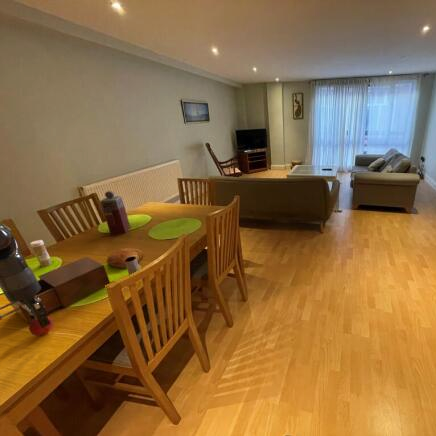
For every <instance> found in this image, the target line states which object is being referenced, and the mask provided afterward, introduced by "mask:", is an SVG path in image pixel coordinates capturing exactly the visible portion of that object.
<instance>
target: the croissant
mask: <svg viewBox="0 0 436 436" xmlns="http://www.w3.org/2000/svg"><path fill="white" fill-rule="evenodd" d="M129 257H136V259H137V262H138V263H139V262H140V260H141V259H142V257H143V252H142V251H141V250H140V249H138V248H135V247H134V248H133V247H130V248H129V247H126V248H119V249H117V250H115V251H113V252H112V253H110V254H109V256H107V259H106V263H107V265H109V266H112V267H116V268H119V269H127V267H126V264H125V259H126V258H129Z"/></svg>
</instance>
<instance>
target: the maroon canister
mask: <svg viewBox="0 0 436 436" xmlns="http://www.w3.org/2000/svg"><path fill="white" fill-rule="evenodd" d="M104 196H105V197H104V198H103V199H101V200H100V201H99V204H100V206H101V209H102V213H103V215H104V219H105V222H106V225H107V227H108V231H109V234H110V235H119V234H120V235H122V234H127V233H128V232H129V231H130V229H131V224H130V221H129V217H128V214H127V210H126V207H125V203H124V201H123V196H121V195H115V192H114V191H112V190H108V191H105V193H104Z"/></svg>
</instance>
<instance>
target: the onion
mask: <svg viewBox="0 0 436 436" xmlns="http://www.w3.org/2000/svg"><path fill="white" fill-rule="evenodd" d="M47 318H48V319H49V321H50V324H49V325H48V326H46V327H44V328H42V327H41V326H40V324H39V323H38V321H37V320H36V319H35V318H33V319H32V320H33V321H32V322H31V323H30V324H29V327H28V330H29V332H30V334H32V335H34V336H42V335H46V334H48V333H50V331H51V330H52V329H53V327H54V325H55V322H54V321H55V320H54V319H52V317H50V316H47Z"/></svg>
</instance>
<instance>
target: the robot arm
mask: <svg viewBox="0 0 436 436" xmlns="http://www.w3.org/2000/svg"><path fill="white" fill-rule="evenodd" d="M0 289H1V291H2V293H3V294H4V296H5V298H6V300H7V301H10V302H18V301H19V302H18V303H19V304H20V305H21V307H22V308H23V309H24V310H26V311H27V313H28V315H29V316H30V318H31V319H32V320H34V319H36V320H37V321H38V323H39V324H40V326H41V327H42V328H44V327H46V326H48V325H49V324H50V321H49V319H48V318H47V317H50V314H49V312H48V313H47V311H46V310H45V308H44V306H43V304H42V302H41V301H40V299H39V297H36V294H37V293H38V292H39V291H40V290H41V287H40V285H39V283H38V279H37V277H36V275H35V274H34V272H33V270H32V269H31V267H30V266H29V264H28V263H27V260H26V259H25V257H24V255H23V253H22V252H21V251H20V248H19V245H18V242H17V240H16V238H15V235H14V233H13V231H12V229H11V228H10V226H8V225H7V224H4V223H3V222H0ZM10 302H9V303H10ZM41 312H42V314H41V315H39V313H41Z"/></svg>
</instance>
